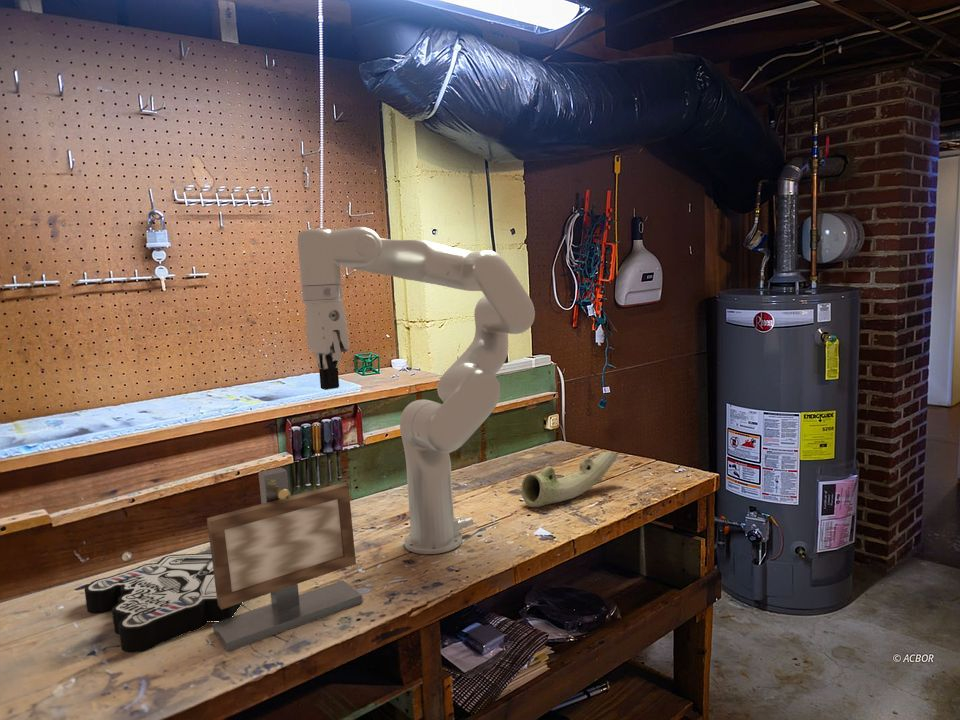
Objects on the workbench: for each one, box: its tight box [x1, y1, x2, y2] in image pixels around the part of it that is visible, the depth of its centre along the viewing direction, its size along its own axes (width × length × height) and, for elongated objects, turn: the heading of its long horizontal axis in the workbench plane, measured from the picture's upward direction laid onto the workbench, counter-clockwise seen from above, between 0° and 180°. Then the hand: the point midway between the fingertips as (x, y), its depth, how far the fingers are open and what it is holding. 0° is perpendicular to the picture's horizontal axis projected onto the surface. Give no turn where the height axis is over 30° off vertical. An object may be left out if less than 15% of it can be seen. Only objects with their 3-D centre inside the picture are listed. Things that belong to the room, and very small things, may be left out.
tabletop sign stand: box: [212, 467, 363, 652], centre depth 118 cm, size 24×8×26 cm, turn 126°
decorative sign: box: [84, 552, 243, 654], centre depth 129 cm, size 28×4×30 cm
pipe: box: [521, 450, 619, 508], centre depth 174 cm, size 28×8×10 cm, turn 127°
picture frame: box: [206, 482, 357, 610], centre depth 118 cm, size 24×2×15 cm, turn 126°
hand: (330, 388), depth 134 cm, fingers closed
